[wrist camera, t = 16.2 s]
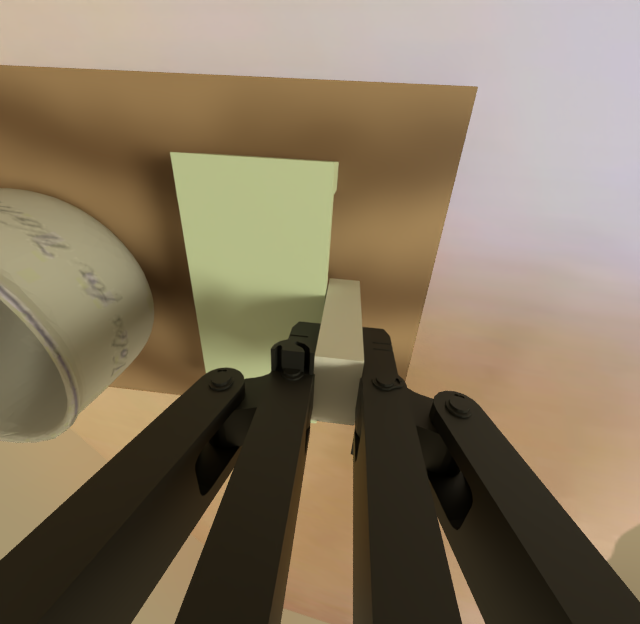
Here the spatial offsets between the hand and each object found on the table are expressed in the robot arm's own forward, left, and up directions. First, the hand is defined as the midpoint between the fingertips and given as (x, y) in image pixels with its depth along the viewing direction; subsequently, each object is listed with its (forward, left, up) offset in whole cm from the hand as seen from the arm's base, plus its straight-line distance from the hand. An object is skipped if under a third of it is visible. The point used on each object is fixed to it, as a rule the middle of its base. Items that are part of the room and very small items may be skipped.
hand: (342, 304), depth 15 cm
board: (0, -9, -3) cm, 10 cm away
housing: (0, -4, -2) cm, 4 cm away
